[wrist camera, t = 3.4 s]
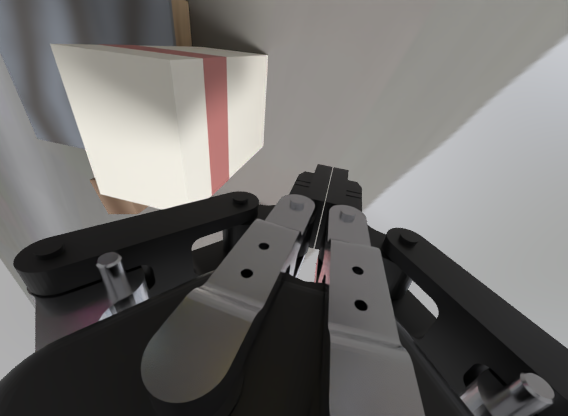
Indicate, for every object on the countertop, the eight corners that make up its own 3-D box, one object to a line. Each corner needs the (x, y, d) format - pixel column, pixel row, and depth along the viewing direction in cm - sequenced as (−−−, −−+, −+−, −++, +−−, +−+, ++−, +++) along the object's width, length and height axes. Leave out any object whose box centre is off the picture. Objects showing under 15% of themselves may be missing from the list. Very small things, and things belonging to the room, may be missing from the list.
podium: (188, 1, 24) (167, -5, 21) (201, 161, 33) (188, 171, 30) (3, -16, 28) (-33, -23, 25) (59, 132, 36) (37, 138, 34)
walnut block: (148, 163, 35) (119, 178, 31) (162, 196, 38) (137, 214, 33) (120, 165, 37) (89, 180, 32) (135, 196, 39) (108, 213, 35)
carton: (268, 54, 24) (170, 59, 12) (263, 146, 29) (190, 216, 17) (201, 46, 26) (49, 43, 13) (207, 136, 31) (100, 194, 18)
